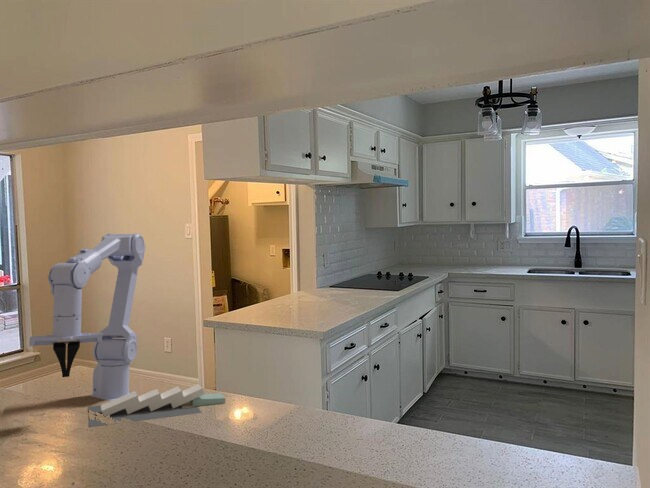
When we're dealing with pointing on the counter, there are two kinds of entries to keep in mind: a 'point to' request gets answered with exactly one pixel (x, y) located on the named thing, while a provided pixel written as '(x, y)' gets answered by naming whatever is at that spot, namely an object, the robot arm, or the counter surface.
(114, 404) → the domino
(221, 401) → the domino
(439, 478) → the counter surface
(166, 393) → the domino
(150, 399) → the domino
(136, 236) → the robot arm
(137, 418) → the mat
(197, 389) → the domino
